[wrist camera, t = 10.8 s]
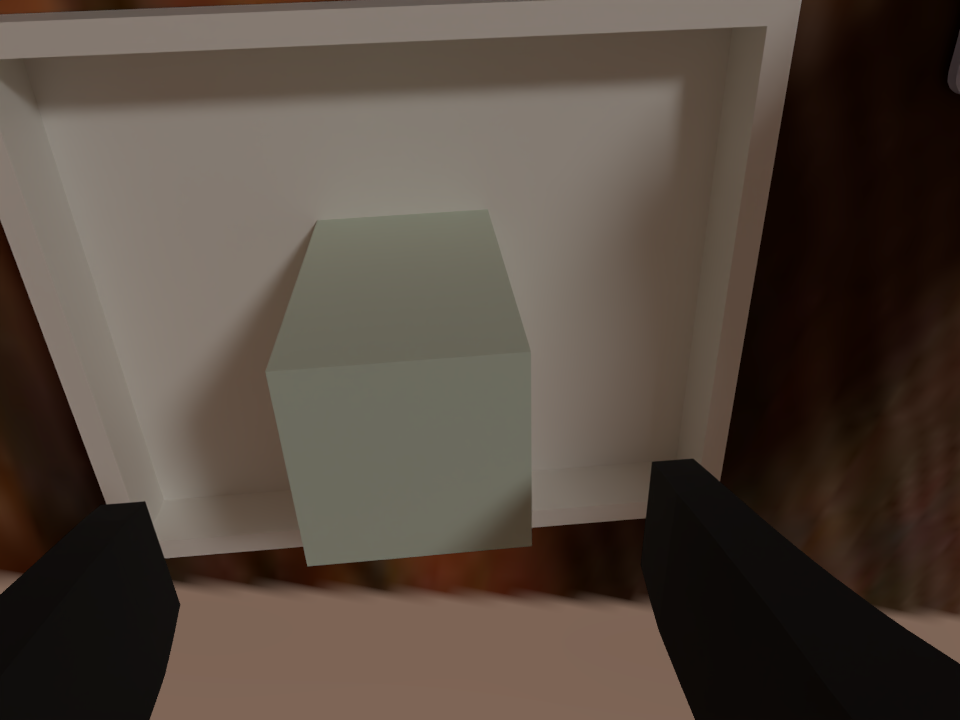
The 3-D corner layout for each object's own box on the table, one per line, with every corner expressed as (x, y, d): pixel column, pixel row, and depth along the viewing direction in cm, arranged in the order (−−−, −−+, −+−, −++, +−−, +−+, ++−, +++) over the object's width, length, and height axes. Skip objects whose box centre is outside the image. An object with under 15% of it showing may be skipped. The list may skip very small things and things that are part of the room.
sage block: (487, 209, 17) (530, 351, 11) (492, 356, 19) (531, 546, 13) (317, 220, 17) (264, 371, 11) (340, 368, 19) (307, 566, 13)
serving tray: (749, -16, 16) (803, -10, 14) (684, 457, 22) (714, 512, 20) (-2, 14, 15) (-73, 25, 13) (156, 499, 21) (127, 561, 19)
